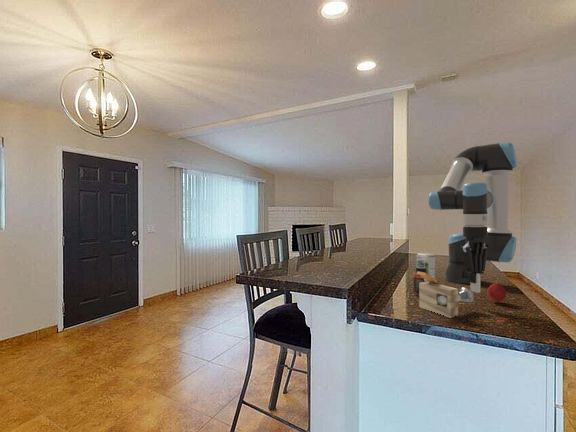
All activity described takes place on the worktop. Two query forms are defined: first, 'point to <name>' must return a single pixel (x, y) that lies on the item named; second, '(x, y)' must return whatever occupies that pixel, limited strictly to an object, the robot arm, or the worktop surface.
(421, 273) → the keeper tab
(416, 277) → the supplement bottle
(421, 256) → the syrup box
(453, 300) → the block
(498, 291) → the onion
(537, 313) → the worktop surface
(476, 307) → the worktop surface
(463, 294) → the pin
